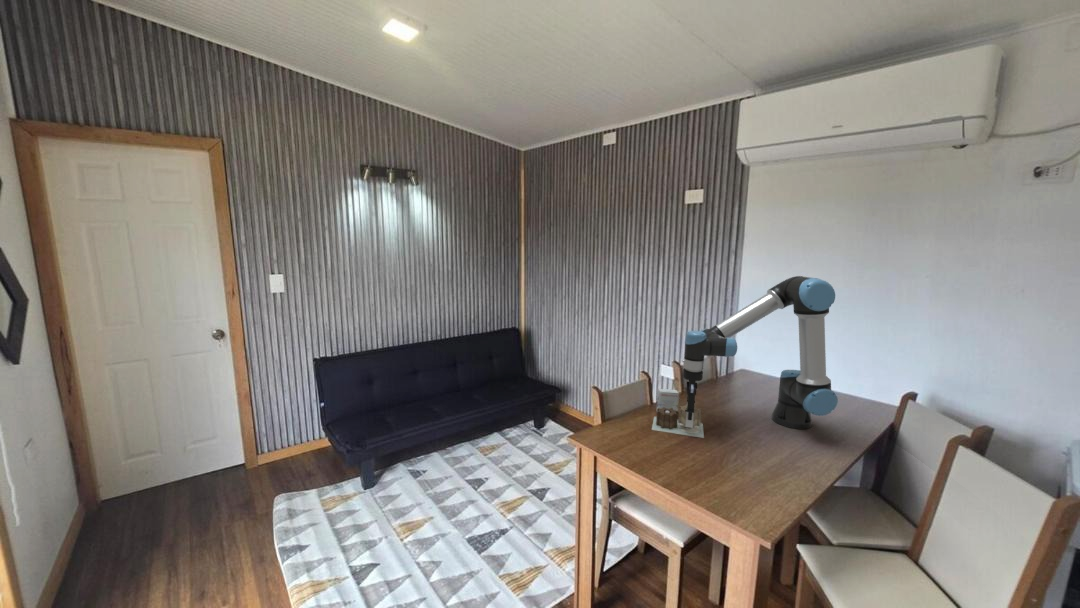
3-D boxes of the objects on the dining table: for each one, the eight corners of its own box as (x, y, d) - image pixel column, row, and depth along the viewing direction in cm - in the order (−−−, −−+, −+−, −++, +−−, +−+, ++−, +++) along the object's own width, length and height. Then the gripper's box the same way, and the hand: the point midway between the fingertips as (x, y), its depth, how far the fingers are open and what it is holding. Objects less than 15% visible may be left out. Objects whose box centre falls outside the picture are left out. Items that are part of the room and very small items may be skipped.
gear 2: (699, 420, 176) (700, 406, 175) (700, 428, 168) (701, 414, 167) (678, 417, 179) (679, 403, 178) (678, 425, 171) (679, 411, 170)
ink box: (657, 417, 187) (659, 392, 185) (655, 413, 192) (657, 388, 190) (677, 418, 186) (679, 393, 184) (675, 414, 191) (676, 389, 189)
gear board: (702, 426, 179) (703, 410, 178) (703, 440, 166) (705, 423, 165) (653, 418, 185) (654, 403, 184) (651, 432, 172) (652, 415, 171)
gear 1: (677, 422, 179) (678, 409, 178) (676, 430, 171) (677, 416, 171) (657, 419, 182) (657, 406, 181) (655, 427, 174) (656, 413, 173)
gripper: (683, 361, 181) (679, 411, 185) (683, 375, 161) (678, 431, 165) (702, 363, 179) (698, 413, 182) (704, 378, 159) (699, 434, 162)
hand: (689, 422), depth 174 cm, fingers closed on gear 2, 8 cm apart
